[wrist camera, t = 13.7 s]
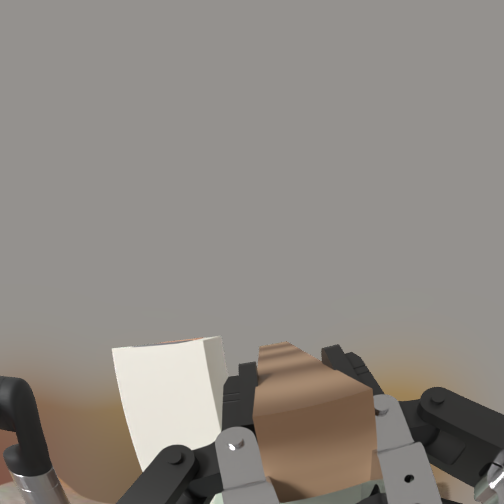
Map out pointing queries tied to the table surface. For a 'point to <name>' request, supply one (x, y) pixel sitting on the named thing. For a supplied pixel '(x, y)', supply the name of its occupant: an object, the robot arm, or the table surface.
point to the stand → (172, 394)
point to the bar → (311, 424)
